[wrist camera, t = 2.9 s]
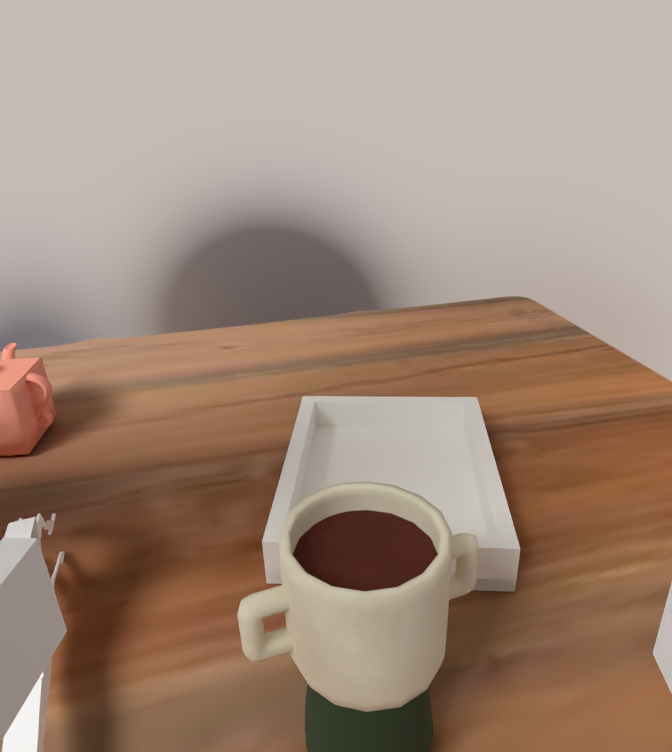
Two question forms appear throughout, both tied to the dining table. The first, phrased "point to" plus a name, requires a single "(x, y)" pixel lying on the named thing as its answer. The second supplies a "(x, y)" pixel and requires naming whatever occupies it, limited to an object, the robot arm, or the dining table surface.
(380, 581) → the character mug
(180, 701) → the dining table surface
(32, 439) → the teapot
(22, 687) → the robot arm
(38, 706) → the white flat pronged piece
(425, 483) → the tray
